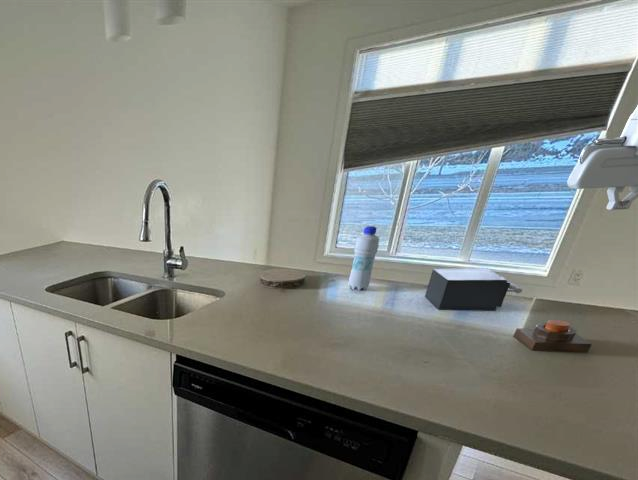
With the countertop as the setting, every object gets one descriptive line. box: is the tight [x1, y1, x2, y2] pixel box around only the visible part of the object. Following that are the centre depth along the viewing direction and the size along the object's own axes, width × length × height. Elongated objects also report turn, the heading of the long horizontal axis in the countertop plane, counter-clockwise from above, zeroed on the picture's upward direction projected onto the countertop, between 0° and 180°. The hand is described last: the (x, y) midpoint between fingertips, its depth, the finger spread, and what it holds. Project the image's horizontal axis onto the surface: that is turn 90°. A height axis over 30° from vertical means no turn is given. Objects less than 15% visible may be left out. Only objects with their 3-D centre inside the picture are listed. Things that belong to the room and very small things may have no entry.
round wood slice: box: [258, 268, 307, 290], centre depth 148 cm, size 16×16×3 cm
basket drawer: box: [497, 280, 523, 308], centre depth 115 cm, size 17×10×7 cm, turn 74°
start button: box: [545, 319, 571, 332], centre depth 91 cm, size 4×4×2 cm
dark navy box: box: [424, 268, 508, 311], centre depth 116 cm, size 14×12×9 cm
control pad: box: [513, 322, 592, 354], centre depth 92 cm, size 10×8×4 cm
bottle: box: [347, 225, 380, 291], centre depth 131 cm, size 7×7×20 cm
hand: (616, 209), depth 87 cm, fingers closed
